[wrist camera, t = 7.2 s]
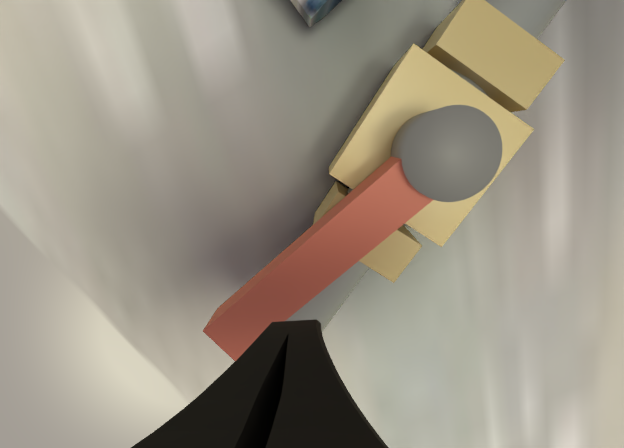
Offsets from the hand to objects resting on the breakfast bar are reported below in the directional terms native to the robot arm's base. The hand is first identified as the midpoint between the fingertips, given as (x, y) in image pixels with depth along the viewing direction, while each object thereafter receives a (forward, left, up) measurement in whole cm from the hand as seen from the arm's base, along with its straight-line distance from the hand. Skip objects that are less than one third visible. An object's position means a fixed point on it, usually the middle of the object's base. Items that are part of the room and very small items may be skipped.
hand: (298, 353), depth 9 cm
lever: (-1, -2, -5) cm, 6 cm away
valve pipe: (-4, -5, -9) cm, 12 cm away
